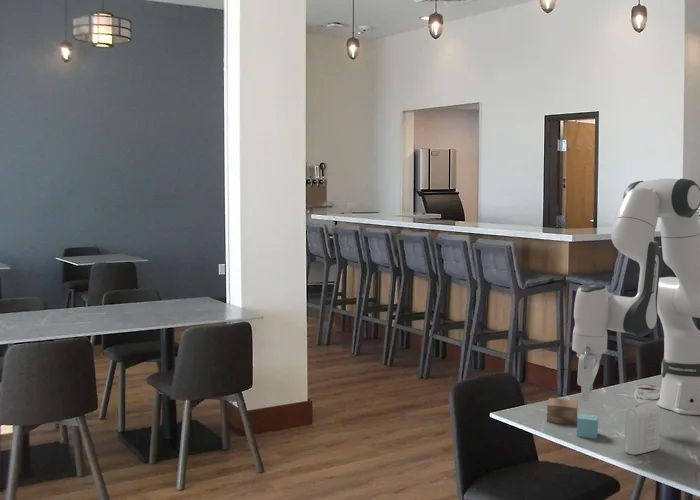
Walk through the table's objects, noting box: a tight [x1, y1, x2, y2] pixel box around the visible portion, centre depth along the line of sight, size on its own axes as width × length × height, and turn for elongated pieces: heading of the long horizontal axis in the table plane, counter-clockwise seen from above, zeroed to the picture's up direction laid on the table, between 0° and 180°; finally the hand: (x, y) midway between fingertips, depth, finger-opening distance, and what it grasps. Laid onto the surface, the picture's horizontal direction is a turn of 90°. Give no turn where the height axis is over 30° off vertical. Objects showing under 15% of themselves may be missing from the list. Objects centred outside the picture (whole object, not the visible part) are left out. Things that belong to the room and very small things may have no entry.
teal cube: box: [576, 413, 599, 439], centre depth 213 cm, size 5×5×5 cm
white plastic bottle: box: [624, 402, 662, 456], centre depth 200 cm, size 10×4×12 cm, turn 123°
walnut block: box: [546, 397, 579, 425], centre depth 227 cm, size 8×8×5 cm
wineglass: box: [633, 383, 661, 404], centre depth 217 cm, size 7×7×12 cm
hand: (587, 395), depth 212 cm, fingers open, 8 cm apart
